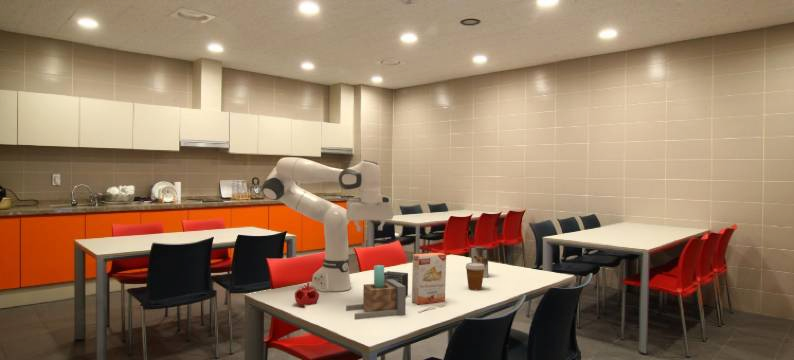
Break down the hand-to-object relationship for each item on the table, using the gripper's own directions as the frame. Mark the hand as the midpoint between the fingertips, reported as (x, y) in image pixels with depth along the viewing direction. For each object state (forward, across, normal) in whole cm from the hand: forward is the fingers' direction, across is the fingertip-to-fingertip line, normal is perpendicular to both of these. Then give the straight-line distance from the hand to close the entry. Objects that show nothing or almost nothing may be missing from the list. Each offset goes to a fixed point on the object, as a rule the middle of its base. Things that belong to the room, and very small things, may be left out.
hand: (369, 230), depth 208 cm
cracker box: (+31, +25, -6) cm, 41 cm away
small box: (+31, +16, +9) cm, 36 cm away
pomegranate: (+31, -25, +6) cm, 41 cm away
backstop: (+31, -6, -17) cm, 36 cm away
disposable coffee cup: (+31, +57, +9) cm, 66 cm away
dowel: (+25, -2, -17) cm, 30 cm away
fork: (+32, +19, -18) cm, 41 cm away
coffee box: (+31, +75, +34) cm, 88 cm away
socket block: (+30, -1, -17) cm, 35 cm away
